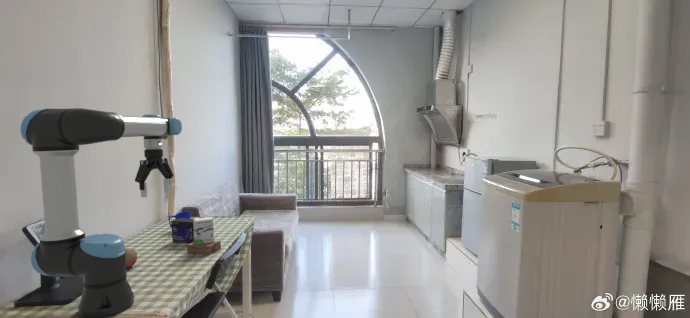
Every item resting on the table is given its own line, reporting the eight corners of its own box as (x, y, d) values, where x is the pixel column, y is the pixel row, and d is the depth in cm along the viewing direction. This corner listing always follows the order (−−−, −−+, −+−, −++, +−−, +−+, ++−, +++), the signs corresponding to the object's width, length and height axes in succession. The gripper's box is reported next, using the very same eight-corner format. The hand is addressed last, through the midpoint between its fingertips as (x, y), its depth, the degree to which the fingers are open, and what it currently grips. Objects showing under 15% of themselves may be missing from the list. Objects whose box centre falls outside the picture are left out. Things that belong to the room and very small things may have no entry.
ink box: (195, 245, 167) (194, 220, 166) (193, 242, 171) (192, 218, 170) (214, 242, 171) (213, 218, 170) (212, 239, 175) (211, 216, 174)
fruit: (118, 265, 153) (117, 247, 153) (139, 263, 156) (138, 245, 156) (113, 272, 146) (112, 253, 145) (135, 269, 149) (134, 250, 148)
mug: (169, 230, 210) (168, 213, 209) (191, 227, 215) (190, 211, 214) (168, 233, 203) (168, 216, 202) (191, 230, 208) (191, 214, 207)
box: (171, 243, 185) (170, 220, 184) (180, 239, 191) (179, 217, 191) (200, 245, 181) (199, 222, 180) (208, 241, 187) (207, 218, 186)
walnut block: (209, 254, 165) (208, 246, 165) (187, 253, 168) (187, 244, 168) (220, 248, 174) (220, 240, 174) (199, 247, 177) (199, 239, 177)
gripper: (137, 149, 149) (140, 199, 151) (179, 147, 173) (181, 190, 175) (123, 150, 151) (126, 199, 153) (167, 147, 175) (169, 190, 177)
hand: (156, 194), depth 164 cm, fingers open, 13 cm apart
